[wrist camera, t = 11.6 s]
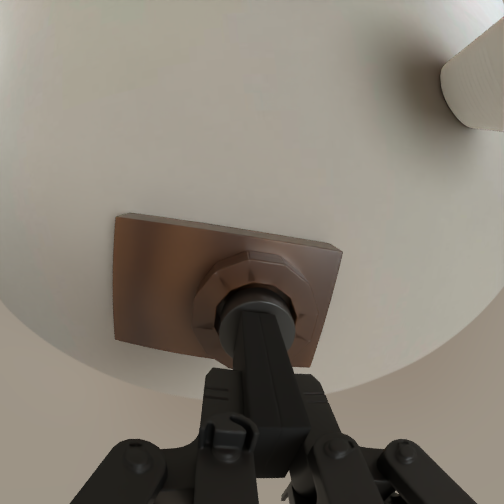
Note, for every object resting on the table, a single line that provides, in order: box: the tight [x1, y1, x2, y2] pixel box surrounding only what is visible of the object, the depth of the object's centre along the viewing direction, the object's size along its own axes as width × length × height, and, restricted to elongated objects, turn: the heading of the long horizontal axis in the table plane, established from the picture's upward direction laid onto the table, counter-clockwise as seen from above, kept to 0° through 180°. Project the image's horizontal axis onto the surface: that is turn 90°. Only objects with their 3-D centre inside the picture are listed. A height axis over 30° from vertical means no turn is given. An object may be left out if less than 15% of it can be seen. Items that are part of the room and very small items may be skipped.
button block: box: [113, 213, 343, 369], centre depth 16 cm, size 13×8×4 cm, turn 80°
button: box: [219, 287, 295, 358], centre depth 13 cm, size 4×4×2 cm
